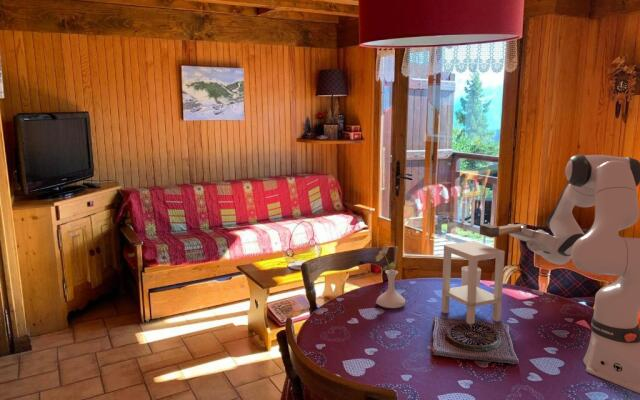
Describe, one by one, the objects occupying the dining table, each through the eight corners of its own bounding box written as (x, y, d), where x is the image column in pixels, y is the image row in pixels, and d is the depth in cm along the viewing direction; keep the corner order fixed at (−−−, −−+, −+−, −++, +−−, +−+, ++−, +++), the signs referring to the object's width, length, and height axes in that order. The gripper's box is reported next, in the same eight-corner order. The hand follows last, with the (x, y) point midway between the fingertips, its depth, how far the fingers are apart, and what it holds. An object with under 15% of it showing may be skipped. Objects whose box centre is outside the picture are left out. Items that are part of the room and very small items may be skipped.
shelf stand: (500, 320, 180) (504, 251, 176) (469, 327, 174) (473, 255, 170) (470, 305, 194) (473, 241, 190) (441, 311, 189) (443, 245, 184)
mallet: (529, 232, 186) (529, 223, 186) (491, 237, 179) (491, 228, 178) (517, 229, 192) (517, 220, 191) (479, 234, 184) (480, 224, 183)
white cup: (482, 294, 206) (483, 271, 205) (463, 294, 206) (464, 271, 205) (476, 288, 214) (477, 265, 212) (458, 288, 214) (459, 265, 213)
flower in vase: (391, 298, 203) (393, 238, 198) (411, 306, 193) (413, 244, 189) (367, 305, 195) (367, 243, 191) (386, 314, 186) (387, 249, 182)
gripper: (521, 229, 203) (500, 215, 197) (564, 240, 184) (542, 225, 178) (515, 242, 202) (493, 229, 196) (557, 255, 184) (534, 240, 178)
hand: (516, 227), depth 187 cm, fingers closed on mallet, 3 cm apart
